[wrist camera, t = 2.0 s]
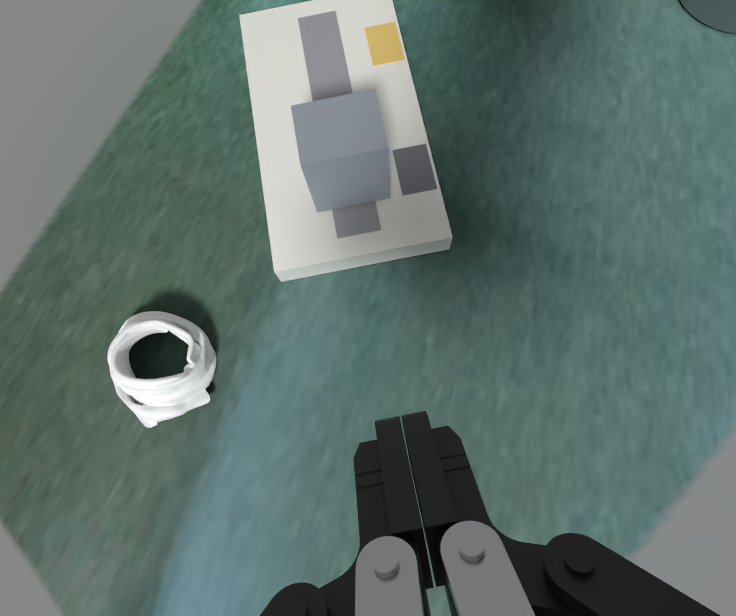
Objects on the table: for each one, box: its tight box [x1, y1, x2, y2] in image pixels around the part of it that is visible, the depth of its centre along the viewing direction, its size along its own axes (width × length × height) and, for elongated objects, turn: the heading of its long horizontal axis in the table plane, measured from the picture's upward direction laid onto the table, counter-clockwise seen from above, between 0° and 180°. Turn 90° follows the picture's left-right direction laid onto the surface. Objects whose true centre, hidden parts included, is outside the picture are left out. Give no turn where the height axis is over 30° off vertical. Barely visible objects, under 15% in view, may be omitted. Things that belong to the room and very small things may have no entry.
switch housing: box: [239, 0, 453, 282], centre depth 35 cm, size 12×22×2 cm, turn 10°
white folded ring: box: [107, 311, 217, 428], centre depth 30 cm, size 8×7×5 cm
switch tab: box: [291, 89, 390, 212], centre depth 29 cm, size 5×4×6 cm
